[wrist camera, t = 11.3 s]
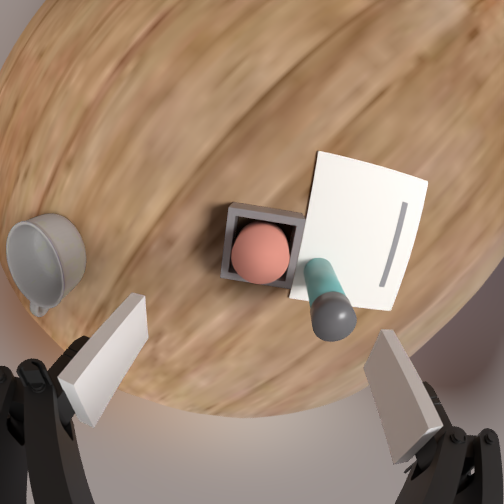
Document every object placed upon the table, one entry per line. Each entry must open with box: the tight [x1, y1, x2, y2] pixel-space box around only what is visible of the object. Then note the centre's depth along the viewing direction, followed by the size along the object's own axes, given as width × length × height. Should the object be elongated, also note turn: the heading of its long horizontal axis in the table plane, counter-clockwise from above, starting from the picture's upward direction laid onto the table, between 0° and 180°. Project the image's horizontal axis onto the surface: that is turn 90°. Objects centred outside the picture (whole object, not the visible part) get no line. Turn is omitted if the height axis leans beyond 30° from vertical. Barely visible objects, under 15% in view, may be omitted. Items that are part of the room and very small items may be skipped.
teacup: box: [6, 214, 86, 317], centre depth 27 cm, size 14×11×8 cm
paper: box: [289, 151, 428, 311], centre depth 27 cm, size 16×13×1 cm
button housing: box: [220, 202, 306, 289], centre depth 27 cm, size 7×7×3 cm
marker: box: [304, 258, 357, 341], centre depth 24 cm, size 3×3×10 cm
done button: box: [231, 220, 290, 284], centre depth 25 cm, size 5×5×3 cm
